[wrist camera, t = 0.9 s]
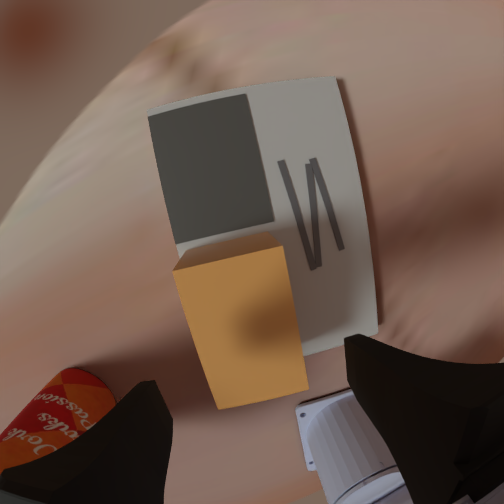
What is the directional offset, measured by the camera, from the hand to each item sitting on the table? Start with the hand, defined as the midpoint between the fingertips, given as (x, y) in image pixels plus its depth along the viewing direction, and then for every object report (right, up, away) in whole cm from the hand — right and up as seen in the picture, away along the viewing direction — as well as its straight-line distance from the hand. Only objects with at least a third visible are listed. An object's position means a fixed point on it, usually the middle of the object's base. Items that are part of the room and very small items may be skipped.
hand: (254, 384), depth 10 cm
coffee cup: (-14, -7, +10) cm, 19 cm away
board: (+1, +6, +9) cm, 11 cm away
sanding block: (-1, +2, +9) cm, 9 cm away
